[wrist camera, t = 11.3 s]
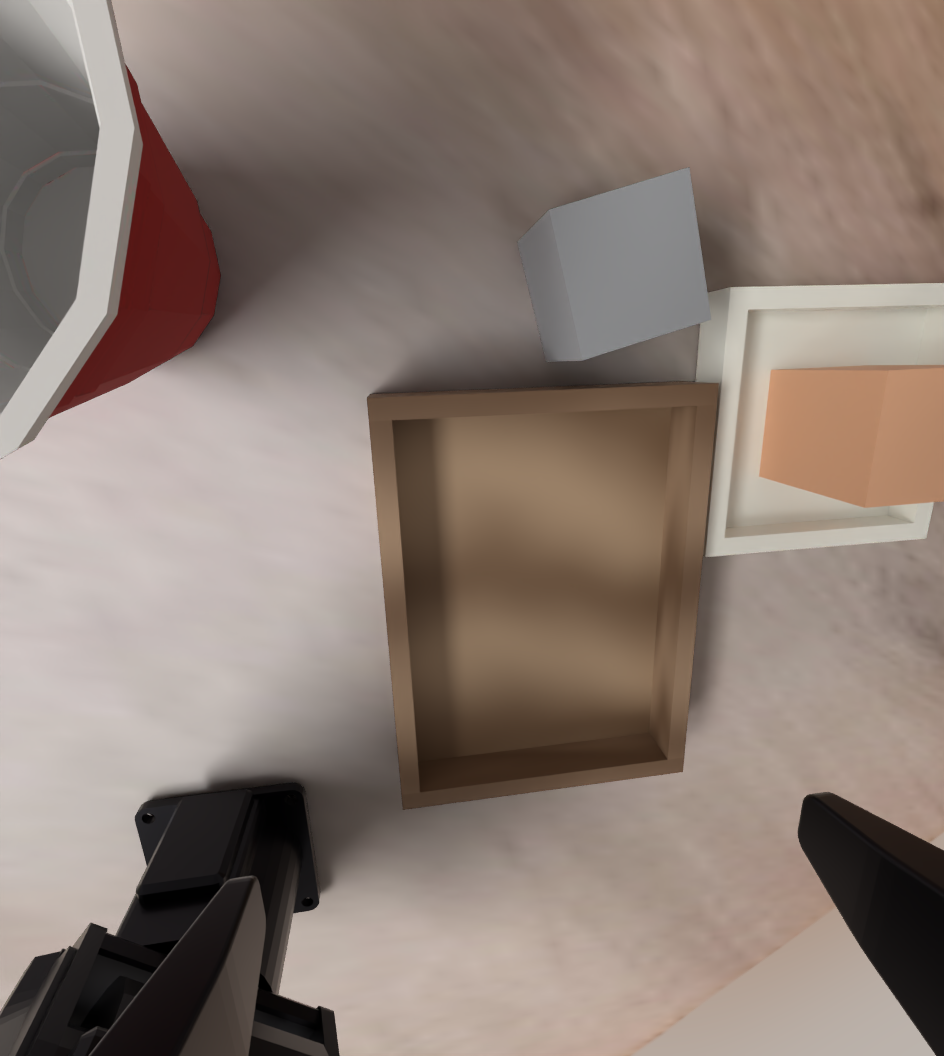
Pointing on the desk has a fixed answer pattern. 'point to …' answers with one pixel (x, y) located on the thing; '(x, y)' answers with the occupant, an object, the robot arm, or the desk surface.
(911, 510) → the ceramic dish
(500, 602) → the walnut box
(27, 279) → the plastic cup
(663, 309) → the slate rubber block
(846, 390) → the terracotta block
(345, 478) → the desk surface
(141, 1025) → the robot arm
